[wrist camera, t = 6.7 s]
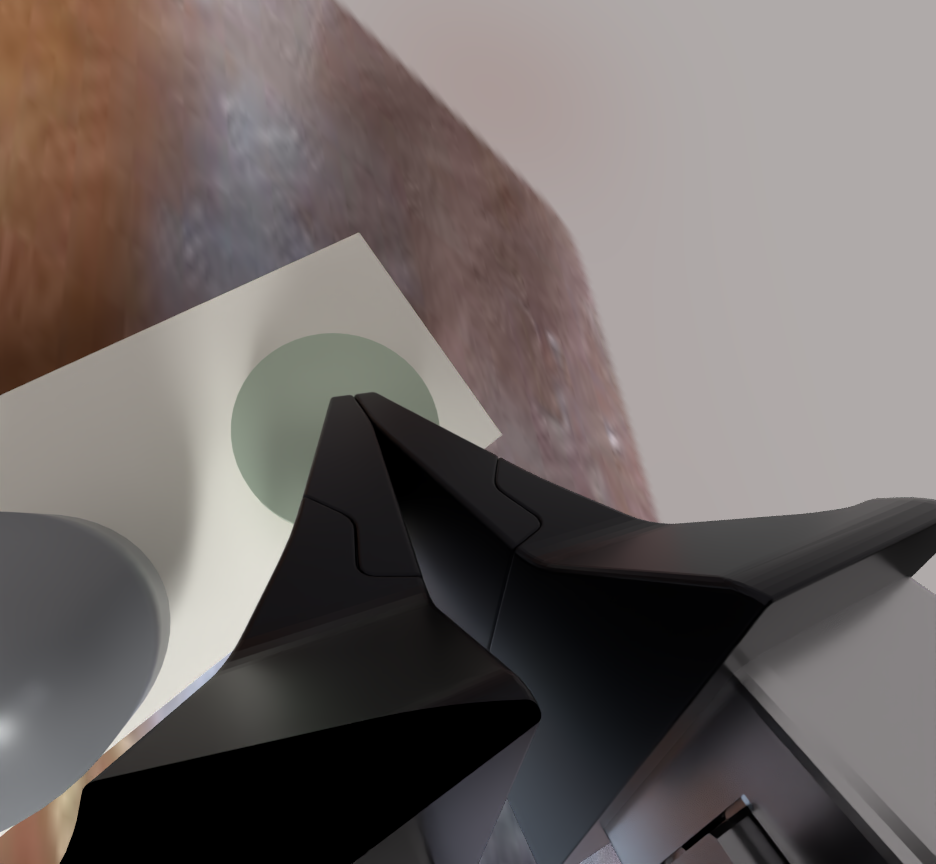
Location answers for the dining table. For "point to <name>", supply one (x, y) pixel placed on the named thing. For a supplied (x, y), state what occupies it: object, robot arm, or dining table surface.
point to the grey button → (70, 651)
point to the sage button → (310, 408)
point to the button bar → (202, 439)
